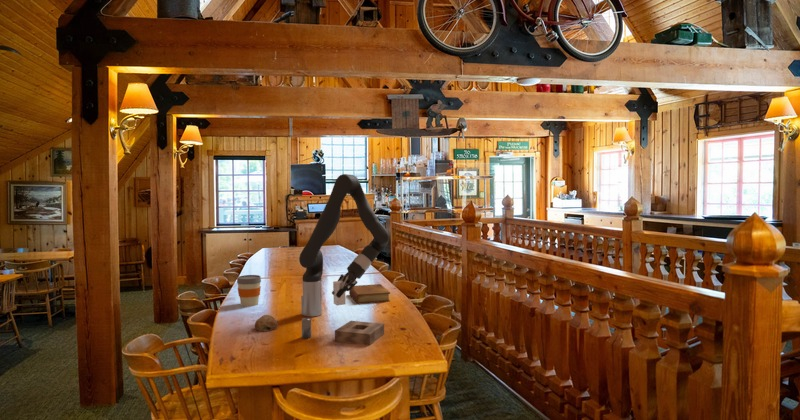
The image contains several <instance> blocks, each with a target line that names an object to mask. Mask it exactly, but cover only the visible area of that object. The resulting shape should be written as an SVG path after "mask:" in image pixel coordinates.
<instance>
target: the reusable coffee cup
mask: <svg viewBox="0 0 800 420" xmlns="http://www.w3.org/2000/svg"><path fill="white" fill-rule="evenodd" d="M236 280H237V281H236V284H237V293H238V297H239V300H240V305H241V306H242V307H254V306H257V305H259V300H260V299H259V298H260V295H261V287H262V286H261V282H262V278H261V275H258V274H245V275H241V276H237V277H236Z"/></svg>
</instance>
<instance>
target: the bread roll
mask: <svg viewBox="0 0 800 420" xmlns="http://www.w3.org/2000/svg"><path fill="white" fill-rule="evenodd" d="M254 323H255V324H254V329H255V330H257V331H260V332H270V331H274V330H276V329H278V320H277V319H276V318H275V317H274V316H272V315H271V314H265V315H261V316H260V317H259V318H258V319H257V320H255V322H254Z"/></svg>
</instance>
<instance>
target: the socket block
mask: <svg viewBox="0 0 800 420" xmlns="http://www.w3.org/2000/svg"><path fill="white" fill-rule="evenodd" d="M384 335H385V323H381V322H380V323H378V322H368V321H359V320H349V321H348V322H347V323H345V324H343V325H342V326H340V327H338V328H337V329H335V330H334V342H339V343H347V344H356V345H357V344H358V345H365V346H366V345H367V346H371V345H372V344H373V343H375V342H376V341H377V340H379V339H380V338H381V337H382V336H384Z"/></svg>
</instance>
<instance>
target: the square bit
mask: <svg viewBox="0 0 800 420" xmlns="http://www.w3.org/2000/svg"><path fill="white" fill-rule="evenodd" d="M332 284H333V285H332V287H333V290H332V292H334V295H333V294H332V295H333V304H334V305H335V306H341V305H343V306H344V305H346V304H347V303H346V292H344V293H343V294H342V296H341V297H340V298H338V297H337V296H336V294H337V292H338V291H339V290H340V289H342V286H343V285H344V281H338V280H336V281H333V282H332Z"/></svg>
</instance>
